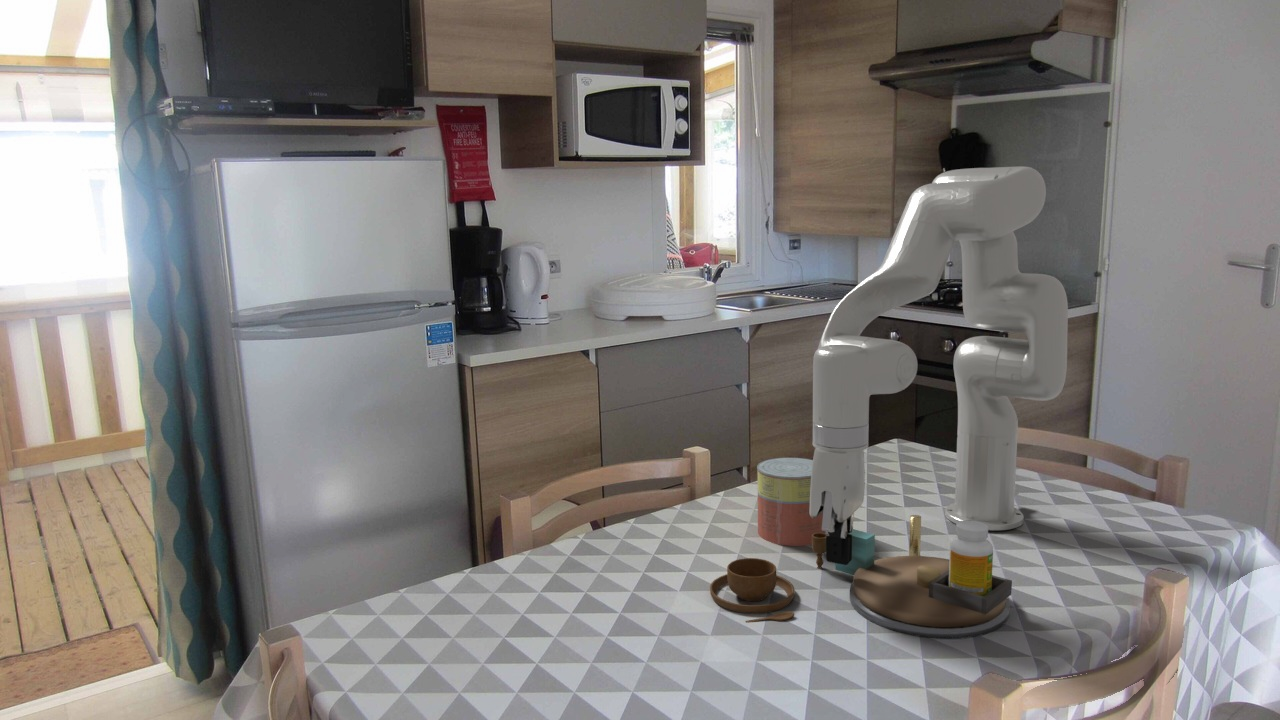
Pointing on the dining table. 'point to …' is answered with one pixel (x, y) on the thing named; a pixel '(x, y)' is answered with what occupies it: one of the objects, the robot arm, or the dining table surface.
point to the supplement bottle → (971, 558)
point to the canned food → (786, 502)
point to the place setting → (760, 583)
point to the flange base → (921, 629)
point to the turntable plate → (918, 588)
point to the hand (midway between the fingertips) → (838, 561)
